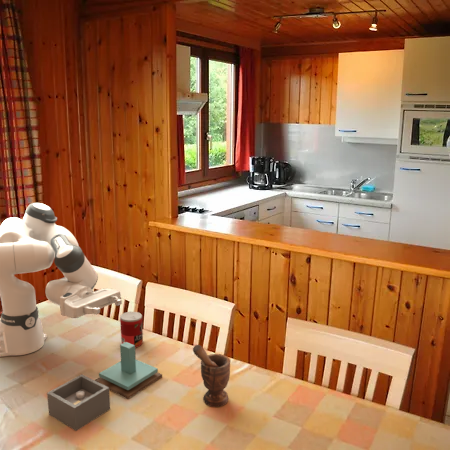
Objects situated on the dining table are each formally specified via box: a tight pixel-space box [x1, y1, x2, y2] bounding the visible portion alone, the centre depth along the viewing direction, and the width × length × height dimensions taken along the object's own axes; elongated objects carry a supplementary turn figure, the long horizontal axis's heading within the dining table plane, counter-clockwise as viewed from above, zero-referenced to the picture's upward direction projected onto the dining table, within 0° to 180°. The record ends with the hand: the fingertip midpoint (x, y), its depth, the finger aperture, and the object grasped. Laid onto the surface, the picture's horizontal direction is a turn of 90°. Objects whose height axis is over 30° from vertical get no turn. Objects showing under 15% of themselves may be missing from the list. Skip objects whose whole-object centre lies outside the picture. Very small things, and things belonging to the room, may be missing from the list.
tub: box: [46, 373, 111, 432], centre depth 138 cm, size 12×12×7 cm
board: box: [94, 371, 163, 400], centre depth 155 cm, size 15×15×1 cm
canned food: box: [119, 311, 144, 348], centre depth 178 cm, size 8×8×11 cm
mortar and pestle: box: [192, 344, 231, 408], centre depth 142 cm, size 12×9×20 cm
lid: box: [98, 342, 159, 390], centre depth 154 cm, size 13×13×11 cm
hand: (109, 307), depth 158 cm, fingers open, 8 cm apart
